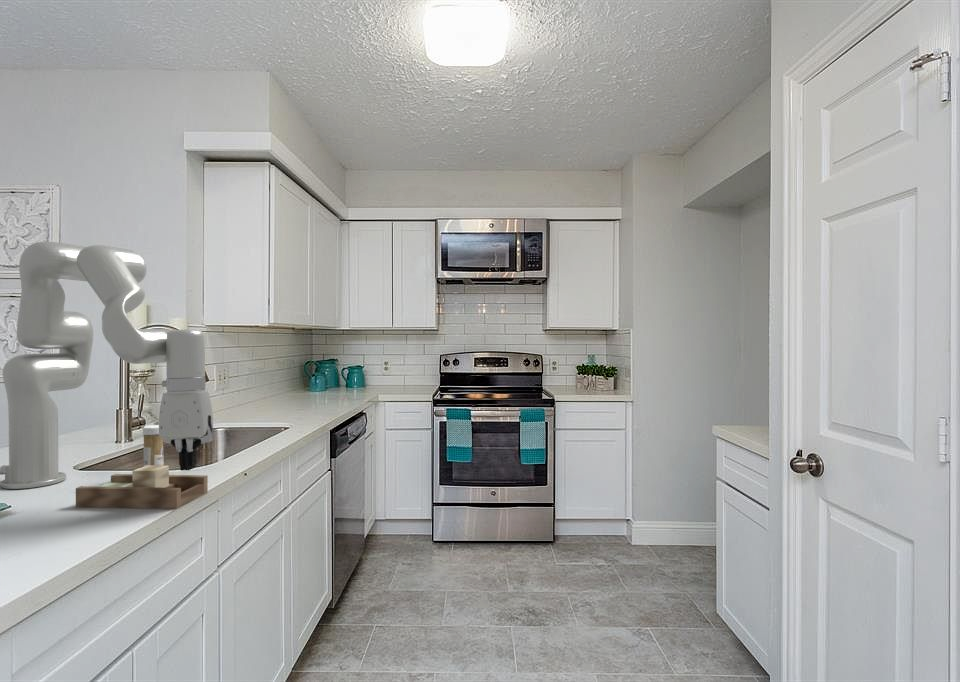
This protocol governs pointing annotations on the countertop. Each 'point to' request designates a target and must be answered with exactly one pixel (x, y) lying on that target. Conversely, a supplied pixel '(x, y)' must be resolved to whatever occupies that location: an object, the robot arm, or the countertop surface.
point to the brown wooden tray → (143, 493)
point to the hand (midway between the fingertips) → (188, 468)
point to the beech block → (151, 476)
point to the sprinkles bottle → (152, 446)
